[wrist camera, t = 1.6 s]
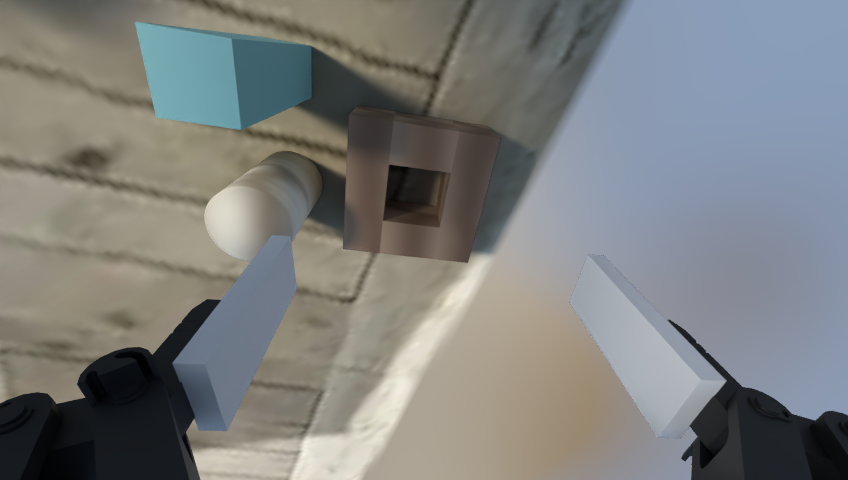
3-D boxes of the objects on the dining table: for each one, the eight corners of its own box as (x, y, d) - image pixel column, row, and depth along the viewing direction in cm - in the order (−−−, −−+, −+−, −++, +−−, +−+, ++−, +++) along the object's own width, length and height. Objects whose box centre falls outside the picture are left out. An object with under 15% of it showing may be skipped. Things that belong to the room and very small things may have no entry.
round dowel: (262, 205, 34) (211, 258, 25) (257, 146, 31) (197, 182, 22) (322, 212, 34) (293, 266, 26) (322, 155, 31) (290, 194, 23)
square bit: (264, 90, 28) (156, 117, 16) (260, 36, 27) (134, 21, 14) (311, 98, 29) (241, 129, 17) (311, 45, 27) (231, 38, 15)
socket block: (351, 224, 35) (343, 248, 31) (357, 105, 29) (348, 114, 25) (460, 237, 36) (467, 262, 32) (487, 126, 31) (500, 138, 26)
